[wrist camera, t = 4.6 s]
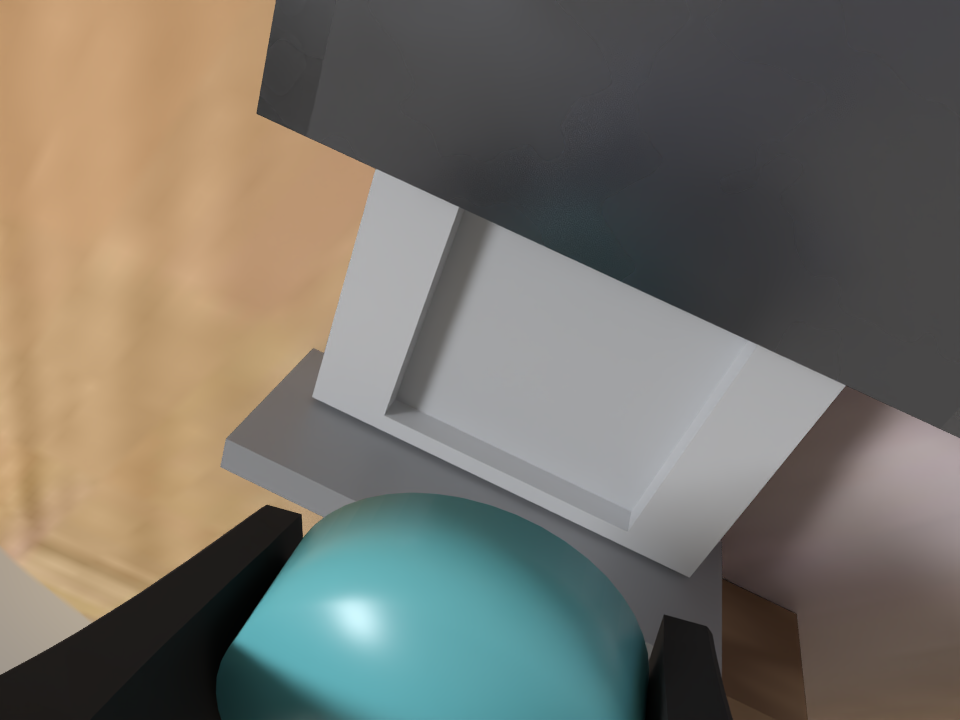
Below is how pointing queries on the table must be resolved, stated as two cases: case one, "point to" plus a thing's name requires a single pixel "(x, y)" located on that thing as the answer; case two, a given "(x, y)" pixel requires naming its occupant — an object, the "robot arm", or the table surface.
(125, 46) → the table surface
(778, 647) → the walnut block
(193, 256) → the table surface
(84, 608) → the table surface
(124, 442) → the table surface
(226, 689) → the disc
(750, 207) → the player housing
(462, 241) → the tray
